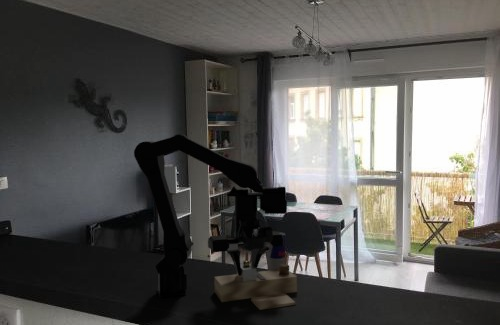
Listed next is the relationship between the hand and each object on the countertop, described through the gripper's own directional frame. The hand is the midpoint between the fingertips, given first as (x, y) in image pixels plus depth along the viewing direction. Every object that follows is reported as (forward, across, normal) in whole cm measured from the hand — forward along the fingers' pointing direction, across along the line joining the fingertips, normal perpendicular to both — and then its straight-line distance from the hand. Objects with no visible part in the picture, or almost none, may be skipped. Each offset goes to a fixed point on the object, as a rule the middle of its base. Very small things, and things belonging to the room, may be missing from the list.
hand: (246, 274), depth 105 cm
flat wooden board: (+5, +4, -8) cm, 10 cm away
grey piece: (+1, 0, 0) cm, 1 cm away
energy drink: (+5, +13, +11) cm, 18 cm away
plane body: (+5, +2, 0) cm, 5 cm away
